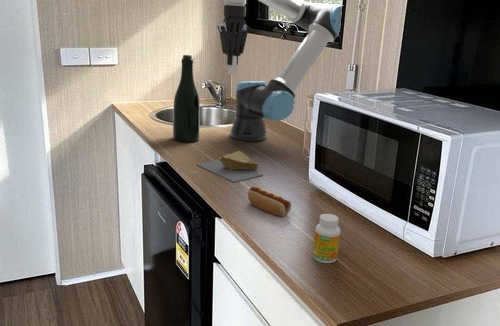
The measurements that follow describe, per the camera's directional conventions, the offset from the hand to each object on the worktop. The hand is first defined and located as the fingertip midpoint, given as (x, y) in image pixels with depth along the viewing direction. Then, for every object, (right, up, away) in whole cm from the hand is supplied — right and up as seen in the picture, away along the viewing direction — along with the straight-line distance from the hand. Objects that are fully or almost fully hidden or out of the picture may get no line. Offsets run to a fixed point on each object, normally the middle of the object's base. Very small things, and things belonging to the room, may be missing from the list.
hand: (232, 74), depth 174 cm
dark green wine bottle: (-19, -22, +20) cm, 36 cm away
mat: (0, -34, -13) cm, 36 cm away
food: (+11, -44, -42) cm, 62 cm away
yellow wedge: (+6, -31, -9) cm, 32 cm away
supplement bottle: (+23, -53, -66) cm, 88 cm away
